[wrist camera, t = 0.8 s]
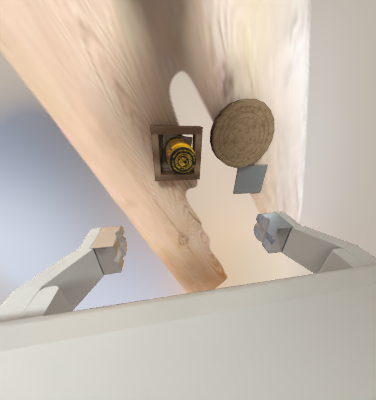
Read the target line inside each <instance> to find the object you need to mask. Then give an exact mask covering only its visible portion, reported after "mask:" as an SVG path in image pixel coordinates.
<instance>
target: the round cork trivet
mask: <svg viewBox="0 0 376 400" xmlns="http://www.w3.org/2000/svg"><path fill="white" fill-rule="evenodd" d="M273 134H274V118H273V115H272V113H271V110H270V109H269V108H268V107H267V105H266V104H265V103H263V102H261V101H259V100H257V99H241V100H238V101H235V102H233V103H230V104H229V105H227V106H226V107H225V108H224V109H223V110H221V111H220V113H219V114H218V116H217V117H216V119H215V120H214V123H213V125H212V128H211V132H210V144H211V148H212V151H213V152H214V154H215V156H216V157H217V158H218V159H219V160H221V161H222V162H223V163H225V164H226V165H228V166H231V167H235V168H236V167H245V166H248V165H250V164H253V163H254V162H255V161H257V160H258V159H260V158H261V156H262V155H263V154H264V153H265V152H266V151H267V149H268V147H269V145H270V143H271V141H272V138H273Z"/></svg>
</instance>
